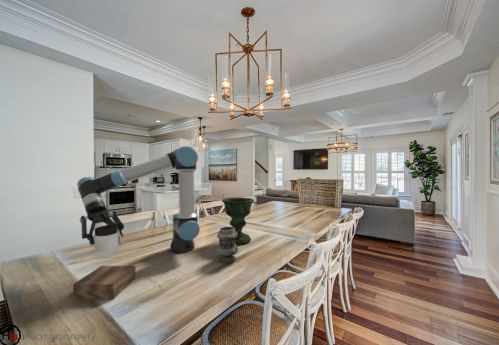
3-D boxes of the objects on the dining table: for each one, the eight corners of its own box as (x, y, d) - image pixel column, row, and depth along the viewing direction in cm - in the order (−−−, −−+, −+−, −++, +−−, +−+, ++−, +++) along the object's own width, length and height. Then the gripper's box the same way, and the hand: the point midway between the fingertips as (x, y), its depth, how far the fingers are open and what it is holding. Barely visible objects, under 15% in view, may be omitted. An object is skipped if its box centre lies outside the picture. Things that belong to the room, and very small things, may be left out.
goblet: (257, 245, 146) (257, 201, 145) (224, 248, 140) (224, 202, 140) (249, 235, 167) (249, 196, 166) (220, 237, 162) (220, 197, 161)
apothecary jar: (224, 253, 131) (224, 224, 130) (241, 257, 125) (241, 226, 125) (212, 261, 120) (212, 229, 120) (231, 265, 115) (231, 232, 114)
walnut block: (135, 278, 101) (135, 265, 101) (113, 299, 85) (113, 284, 85) (101, 278, 101) (101, 265, 101) (73, 299, 85) (73, 284, 85)
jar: (90, 259, 88) (89, 230, 88) (99, 252, 96) (99, 225, 96) (114, 257, 90) (114, 229, 90) (121, 250, 98) (121, 224, 98)
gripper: (116, 207, 110) (132, 244, 101) (63, 214, 93) (77, 260, 84) (121, 197, 107) (138, 235, 98) (67, 203, 90) (81, 249, 81)
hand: (110, 246), depth 91 cm, fingers closed on jar, 8 cm apart
